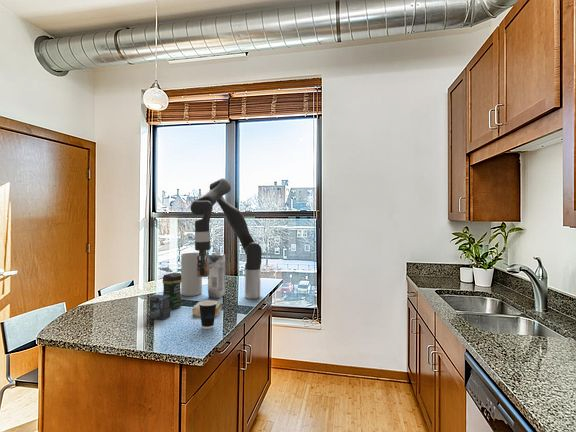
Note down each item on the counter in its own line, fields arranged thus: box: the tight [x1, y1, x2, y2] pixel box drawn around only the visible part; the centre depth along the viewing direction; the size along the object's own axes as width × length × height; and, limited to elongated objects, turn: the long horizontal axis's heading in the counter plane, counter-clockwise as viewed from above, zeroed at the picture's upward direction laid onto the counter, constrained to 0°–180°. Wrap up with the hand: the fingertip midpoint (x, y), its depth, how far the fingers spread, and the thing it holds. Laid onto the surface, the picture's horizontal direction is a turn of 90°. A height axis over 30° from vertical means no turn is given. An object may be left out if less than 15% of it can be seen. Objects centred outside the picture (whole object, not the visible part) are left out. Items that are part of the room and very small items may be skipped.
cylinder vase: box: [180, 252, 203, 297], centre depth 206 cm, size 12×12×25 cm
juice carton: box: [207, 251, 226, 299], centre depth 200 cm, size 9×10×27 cm
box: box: [149, 294, 171, 321], centre depth 159 cm, size 8×6×11 cm
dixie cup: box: [198, 299, 217, 330], centre depth 147 cm, size 8×8×11 cm
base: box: [192, 300, 223, 317], centre depth 168 cm, size 12×12×4 cm
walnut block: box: [197, 261, 209, 278], centre depth 165 cm, size 5×5×7 cm
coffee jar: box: [162, 272, 182, 311], centre depth 176 cm, size 10×8×19 cm
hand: (203, 274), depth 165 cm, fingers closed on walnut block, 5 cm apart
